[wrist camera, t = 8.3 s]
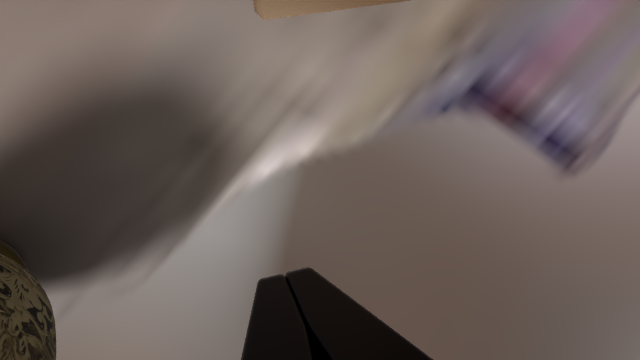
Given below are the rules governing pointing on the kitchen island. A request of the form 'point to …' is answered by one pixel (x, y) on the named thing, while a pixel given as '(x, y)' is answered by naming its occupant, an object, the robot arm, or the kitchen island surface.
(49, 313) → the cup
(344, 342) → the robot arm
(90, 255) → the kitchen island surface
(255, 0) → the stand
